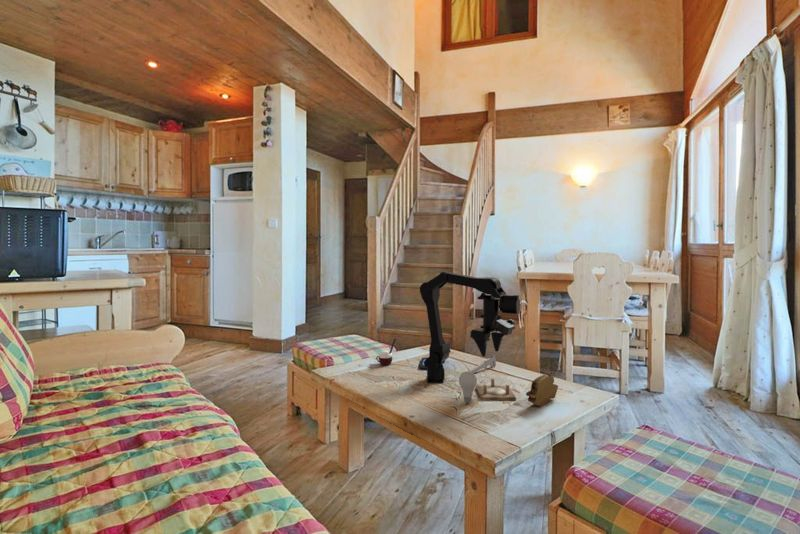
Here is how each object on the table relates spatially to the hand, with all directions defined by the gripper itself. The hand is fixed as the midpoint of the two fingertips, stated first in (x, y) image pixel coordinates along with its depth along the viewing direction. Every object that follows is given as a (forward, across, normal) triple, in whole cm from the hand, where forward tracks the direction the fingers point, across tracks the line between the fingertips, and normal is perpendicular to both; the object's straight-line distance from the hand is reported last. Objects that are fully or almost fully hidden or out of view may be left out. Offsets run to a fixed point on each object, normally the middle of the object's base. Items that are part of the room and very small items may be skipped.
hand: (490, 353), depth 157 cm
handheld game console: (+14, +12, +35) cm, 40 cm away
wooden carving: (+14, 0, -20) cm, 24 cm away
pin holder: (+14, -2, -4) cm, 14 cm away
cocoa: (+14, -2, +52) cm, 54 cm away
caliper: (+14, +17, +15) cm, 27 cm away
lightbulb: (+14, -16, -1) cm, 22 cm away
